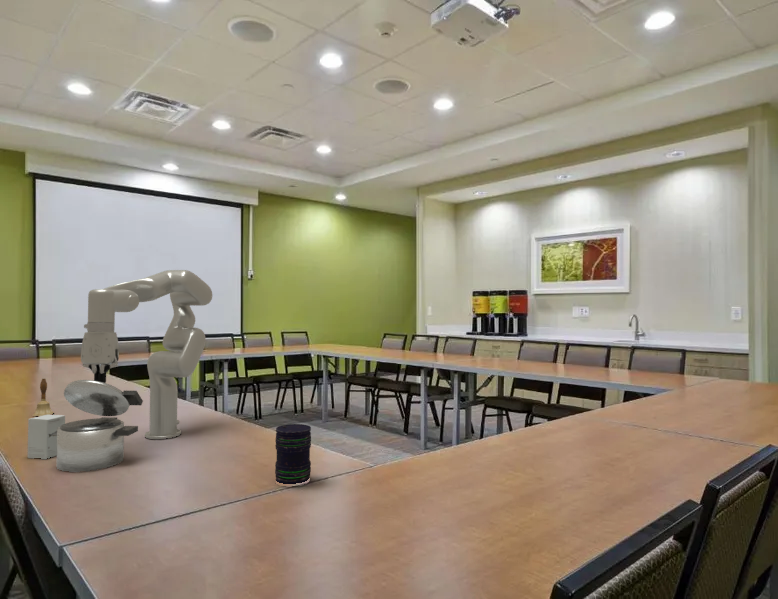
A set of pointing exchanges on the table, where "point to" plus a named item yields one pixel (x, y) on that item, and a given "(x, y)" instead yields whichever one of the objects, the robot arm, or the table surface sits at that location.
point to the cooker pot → (91, 444)
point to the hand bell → (43, 401)
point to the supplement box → (43, 435)
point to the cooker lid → (100, 398)
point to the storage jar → (293, 453)
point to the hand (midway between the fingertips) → (100, 385)
